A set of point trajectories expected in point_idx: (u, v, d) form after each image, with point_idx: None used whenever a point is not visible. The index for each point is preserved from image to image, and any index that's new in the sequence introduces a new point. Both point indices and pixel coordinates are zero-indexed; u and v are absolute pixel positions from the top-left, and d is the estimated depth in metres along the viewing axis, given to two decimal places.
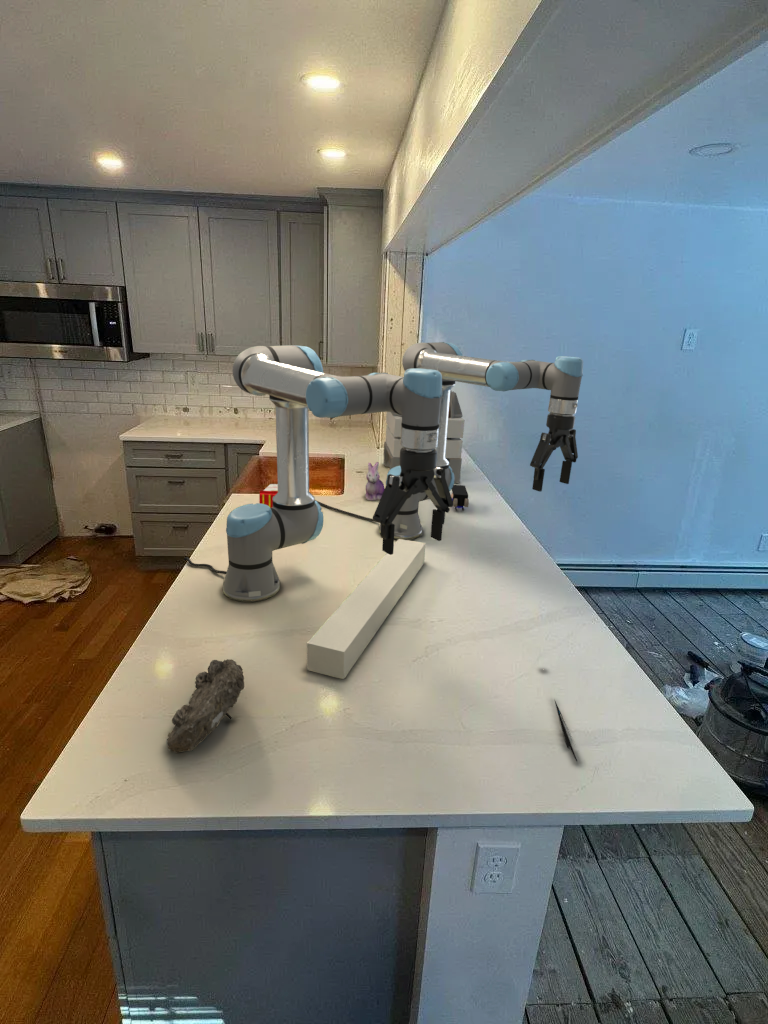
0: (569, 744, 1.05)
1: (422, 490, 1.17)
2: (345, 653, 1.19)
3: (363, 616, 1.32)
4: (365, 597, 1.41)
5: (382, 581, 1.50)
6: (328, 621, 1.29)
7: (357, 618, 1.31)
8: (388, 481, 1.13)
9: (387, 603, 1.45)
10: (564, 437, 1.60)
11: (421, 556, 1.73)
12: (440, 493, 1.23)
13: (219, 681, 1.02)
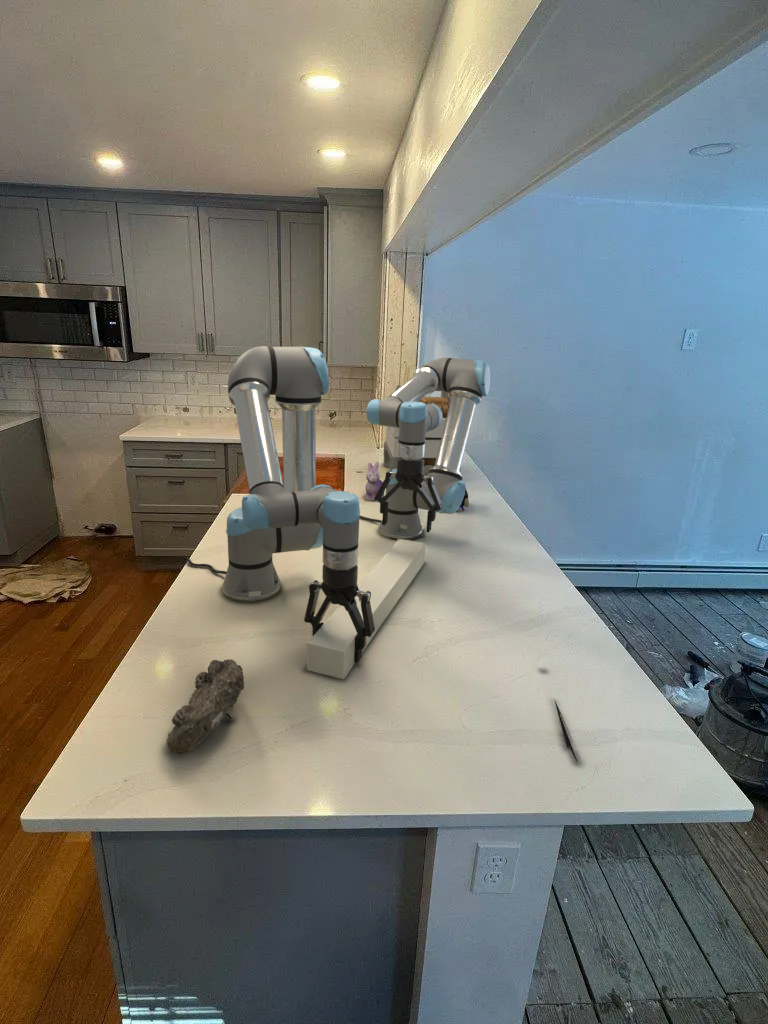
0: (569, 744, 1.05)
1: (341, 603, 1.22)
2: (345, 653, 1.19)
3: None
4: None
5: (382, 581, 1.50)
6: (328, 621, 1.29)
7: None
8: None
9: (387, 603, 1.45)
10: None
11: (421, 556, 1.73)
12: None
13: (219, 681, 1.02)
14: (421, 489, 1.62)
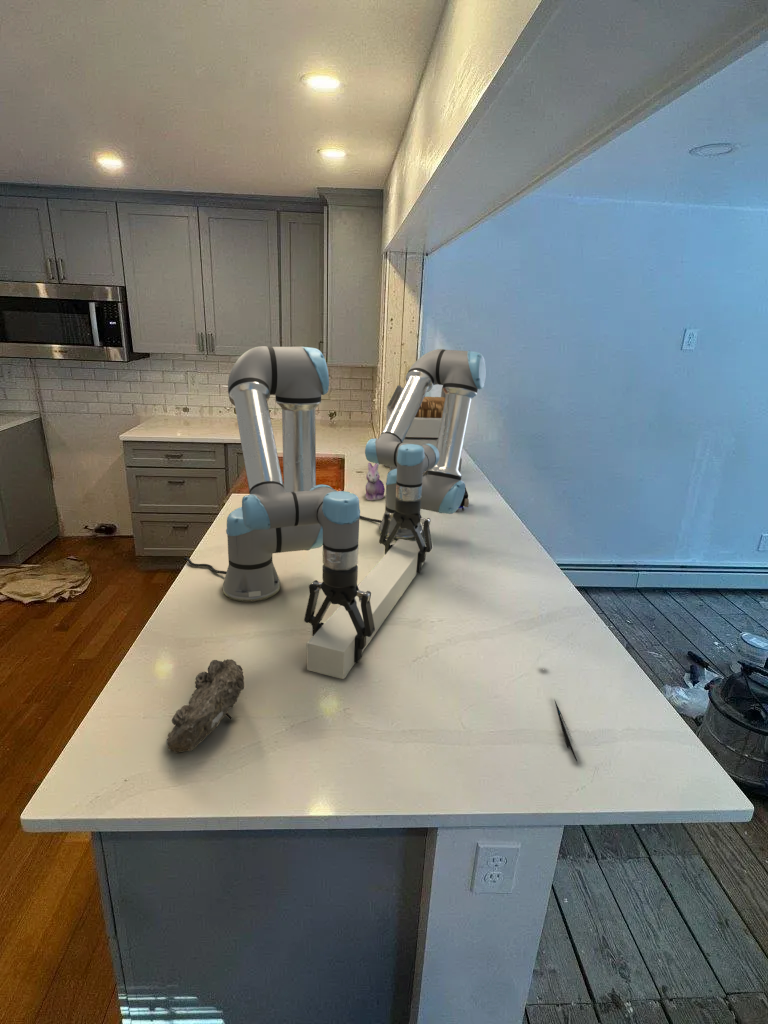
0: (569, 744, 1.05)
1: (341, 603, 1.22)
2: (345, 653, 1.19)
3: None
4: None
5: (382, 581, 1.50)
6: (328, 621, 1.29)
7: None
8: None
9: (387, 603, 1.45)
10: (407, 520, 1.65)
11: None
12: None
13: (219, 681, 1.02)
14: (416, 530, 1.66)
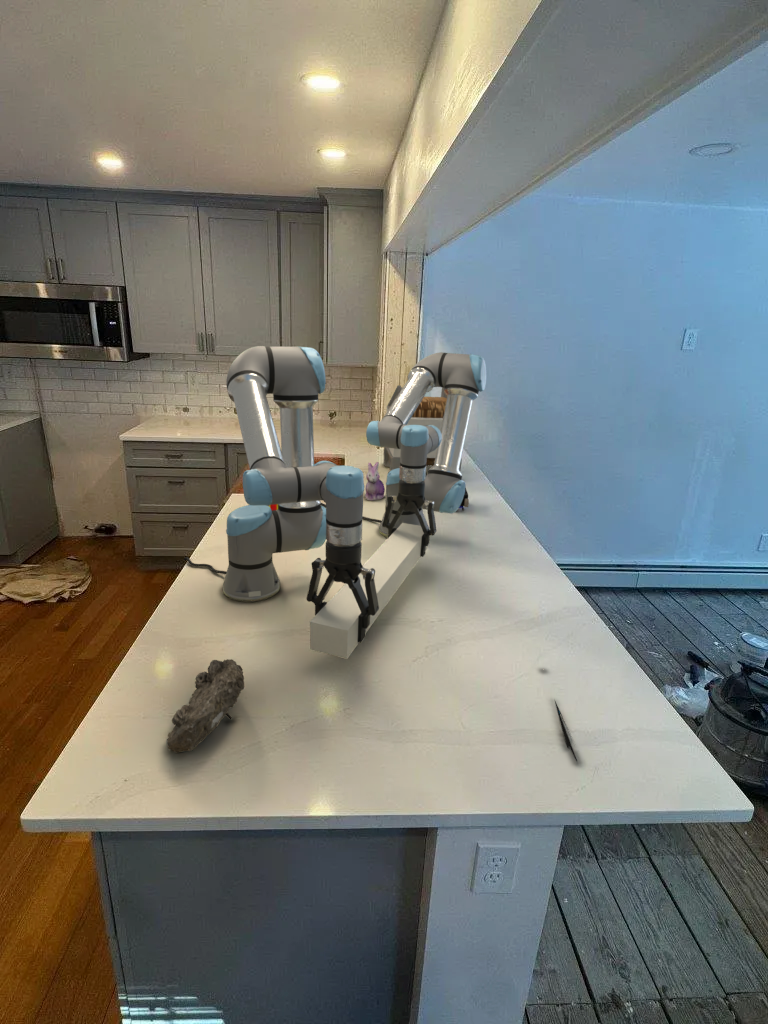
0: (569, 744, 1.05)
1: (344, 581, 1.20)
2: (349, 631, 1.17)
3: None
4: None
5: (386, 563, 1.47)
6: (331, 601, 1.27)
7: None
8: None
9: (391, 585, 1.42)
10: (411, 502, 1.63)
11: None
12: None
13: (219, 681, 1.02)
14: (420, 513, 1.63)
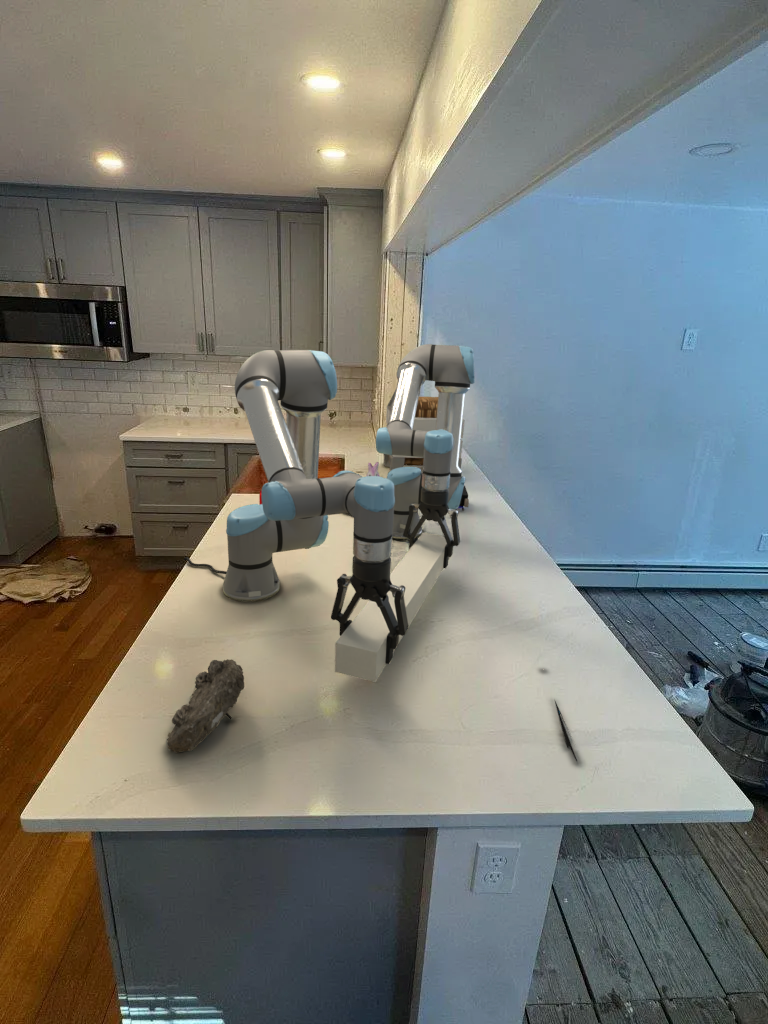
0: (569, 744, 1.05)
1: (372, 599, 1.12)
2: (378, 653, 1.09)
3: None
4: None
5: (410, 576, 1.39)
6: (356, 619, 1.19)
7: None
8: None
9: (417, 600, 1.35)
10: (434, 512, 1.55)
11: None
12: None
13: (219, 681, 1.02)
14: (443, 522, 1.56)
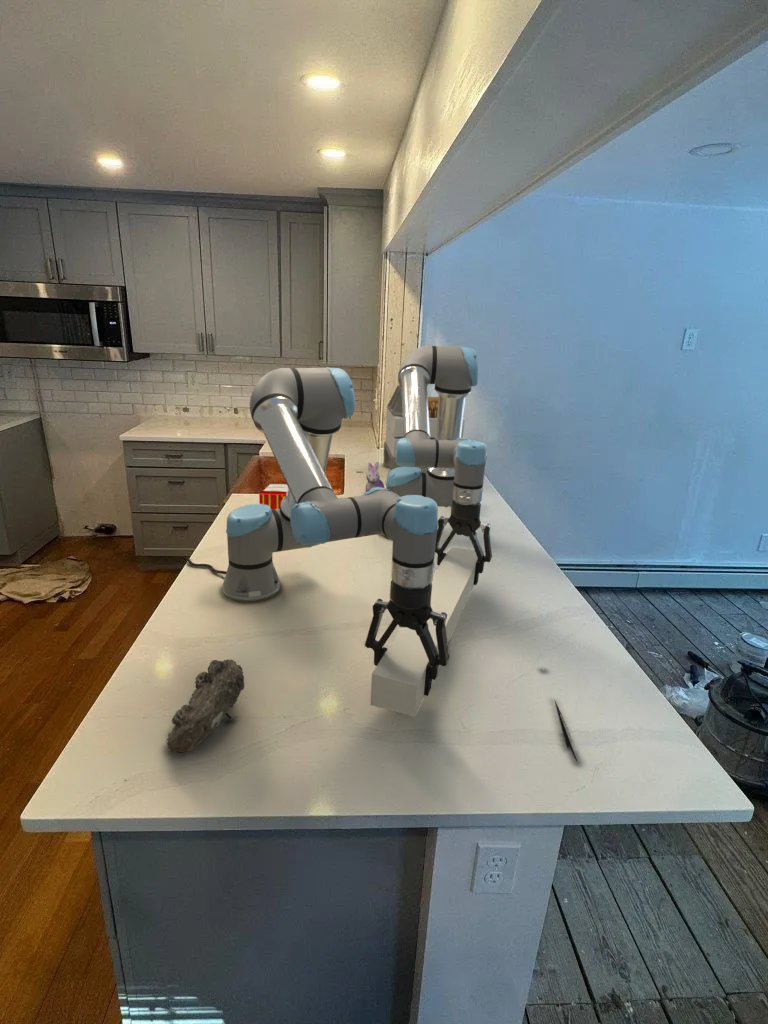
0: (569, 744, 1.05)
1: (411, 627, 1.04)
2: (418, 686, 1.01)
3: None
4: None
5: (443, 597, 1.31)
6: (391, 646, 1.11)
7: None
8: None
9: (451, 623, 1.26)
10: (465, 526, 1.47)
11: None
12: None
13: (219, 681, 1.02)
14: (475, 537, 1.48)
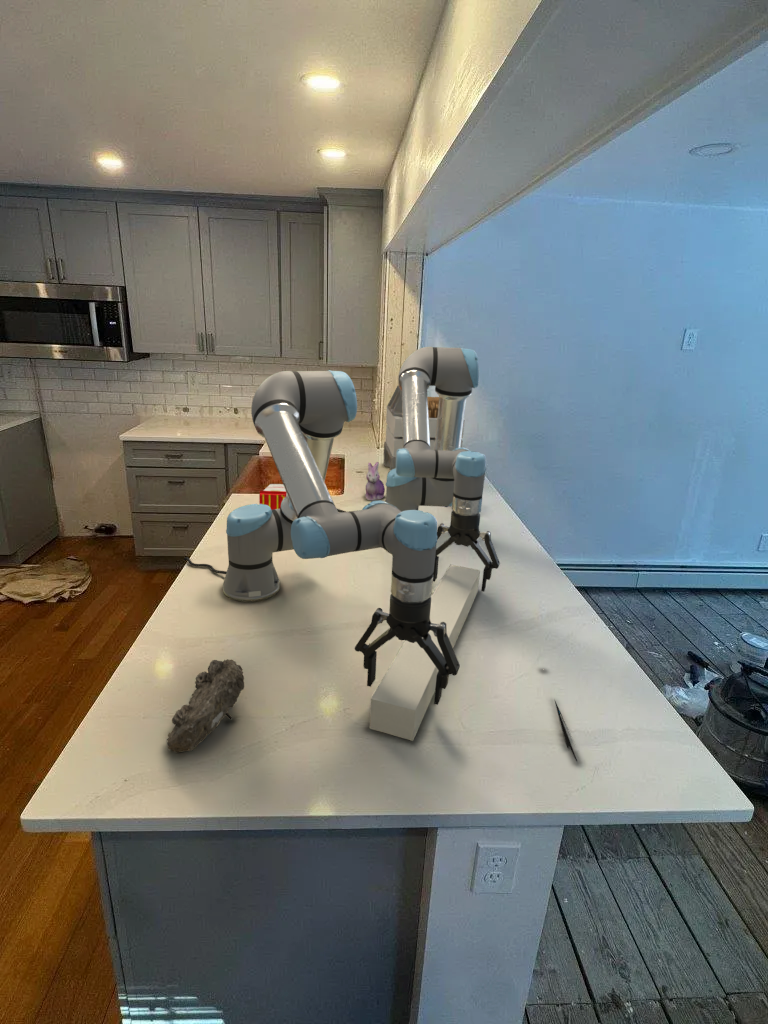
0: (569, 744, 1.05)
1: (410, 640, 1.05)
2: (416, 711, 1.03)
3: (429, 663, 1.16)
4: None
5: (442, 617, 1.33)
6: (390, 669, 1.13)
7: (422, 666, 1.15)
8: None
9: None
10: (465, 537, 1.48)
11: (476, 584, 1.56)
12: None
13: (219, 681, 1.02)
14: (477, 545, 1.48)
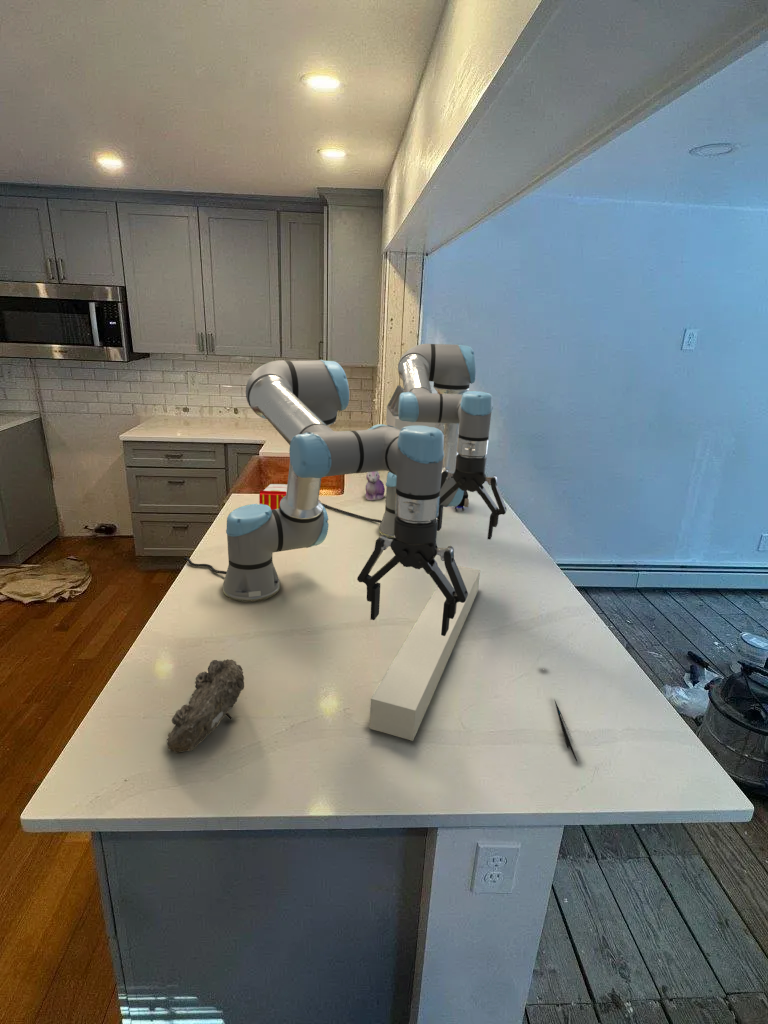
0: (569, 744, 1.05)
1: (415, 566, 1.00)
2: (416, 711, 1.03)
3: (429, 663, 1.16)
4: (426, 639, 1.24)
5: (442, 617, 1.33)
6: (390, 669, 1.13)
7: (422, 666, 1.15)
8: None
9: (450, 644, 1.28)
10: None
11: (476, 584, 1.56)
12: None
13: (219, 681, 1.02)
14: (483, 490, 1.43)
